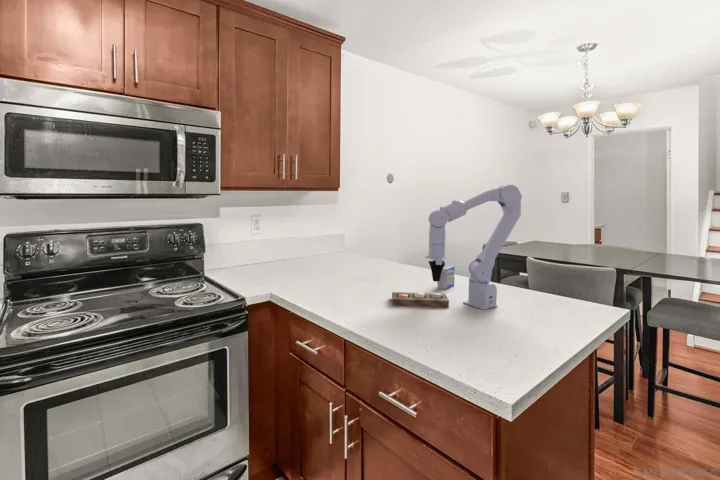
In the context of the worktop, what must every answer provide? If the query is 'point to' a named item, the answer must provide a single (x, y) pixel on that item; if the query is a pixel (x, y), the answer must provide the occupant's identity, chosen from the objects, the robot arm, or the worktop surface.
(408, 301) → the button panel
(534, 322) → the worktop surface
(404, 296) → the terracotta button
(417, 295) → the cream button
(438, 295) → the sage button
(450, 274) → the medicine box
